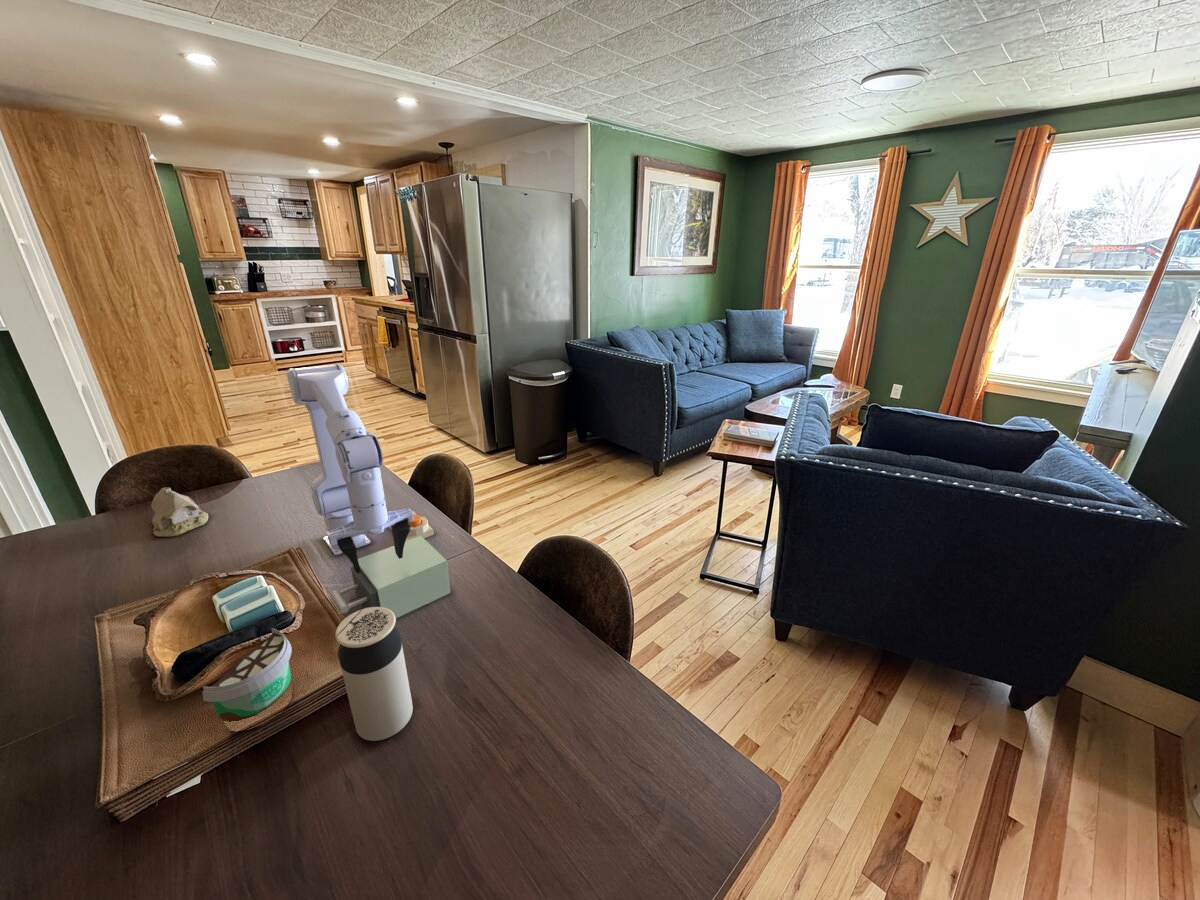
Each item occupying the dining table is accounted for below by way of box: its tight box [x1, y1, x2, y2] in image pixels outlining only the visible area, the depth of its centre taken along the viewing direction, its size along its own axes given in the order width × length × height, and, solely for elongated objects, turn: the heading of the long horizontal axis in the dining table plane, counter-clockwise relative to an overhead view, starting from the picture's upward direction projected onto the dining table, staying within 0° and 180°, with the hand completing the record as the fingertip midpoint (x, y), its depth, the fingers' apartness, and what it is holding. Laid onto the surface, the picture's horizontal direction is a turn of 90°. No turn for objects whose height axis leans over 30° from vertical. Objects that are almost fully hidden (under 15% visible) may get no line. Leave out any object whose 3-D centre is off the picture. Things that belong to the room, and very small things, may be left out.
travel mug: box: [335, 607, 414, 742], centre depth 68 cm, size 8×8×18 cm
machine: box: [357, 536, 451, 619], centre depth 96 cm, size 14×12×8 cm
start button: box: [408, 513, 422, 527], centre depth 116 cm, size 4×4×2 cm
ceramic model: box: [150, 486, 209, 537], centre depth 118 cm, size 14×11×10 cm
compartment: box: [330, 566, 380, 614], centre depth 94 cm, size 17×11×6 cm, turn 133°
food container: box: [202, 628, 293, 722], centre depth 71 cm, size 12×6×10 cm, turn 168°
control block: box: [388, 510, 435, 541], centre depth 119 cm, size 12×7×4 cm, turn 43°
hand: (378, 562), depth 91 cm, fingers open, 7 cm apart
